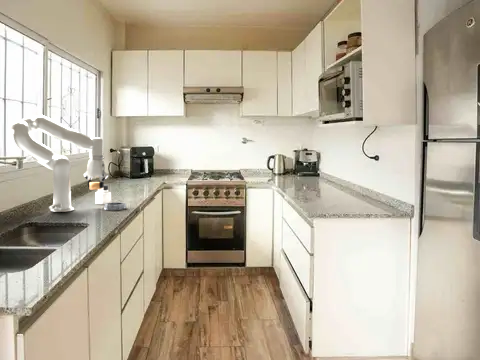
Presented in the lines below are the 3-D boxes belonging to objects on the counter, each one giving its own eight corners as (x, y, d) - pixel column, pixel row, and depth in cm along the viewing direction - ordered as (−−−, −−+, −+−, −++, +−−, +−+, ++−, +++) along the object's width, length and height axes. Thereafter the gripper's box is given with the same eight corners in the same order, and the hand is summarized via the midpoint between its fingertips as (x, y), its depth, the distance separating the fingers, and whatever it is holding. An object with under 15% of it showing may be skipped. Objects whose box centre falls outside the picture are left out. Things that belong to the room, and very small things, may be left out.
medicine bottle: (104, 202, 309) (104, 184, 308) (111, 203, 304) (111, 184, 303) (95, 203, 303) (94, 184, 302) (101, 204, 299) (101, 185, 298)
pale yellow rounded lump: (97, 189, 281) (97, 183, 281) (87, 189, 283) (87, 182, 283) (103, 189, 288) (103, 182, 288) (93, 188, 290) (93, 181, 289)
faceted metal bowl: (119, 210, 275) (119, 205, 274) (100, 209, 277) (100, 204, 277) (129, 207, 287) (129, 202, 286) (110, 206, 290) (110, 201, 289)
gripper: (112, 158, 286) (111, 188, 287) (86, 157, 290) (86, 186, 291) (105, 158, 279) (105, 189, 280) (79, 157, 283) (79, 187, 284)
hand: (95, 187), depth 285 cm, fingers closed on pale yellow rounded lump, 7 cm apart
